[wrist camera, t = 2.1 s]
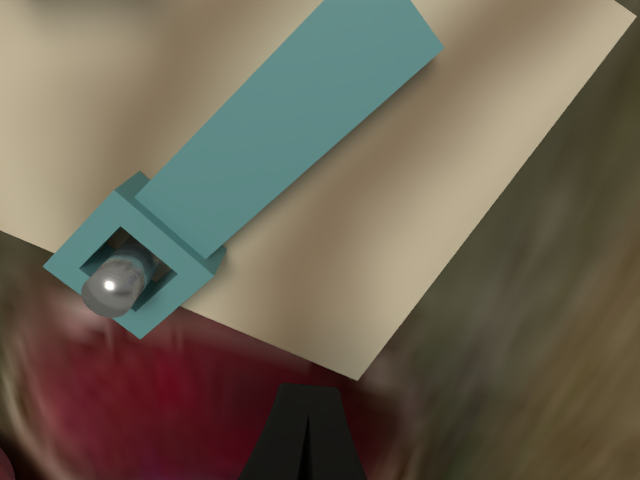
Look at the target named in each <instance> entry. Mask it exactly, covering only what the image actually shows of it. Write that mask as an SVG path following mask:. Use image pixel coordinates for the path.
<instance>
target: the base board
mask: <svg viewBox="0 0 640 480" xmlns="http://www.w3.org/2000/svg"><path fill="white" fill-rule="evenodd" d="M323 1H324V0H0V230H1V231H3V232H6V233H8V234H10V235H13V236H15V237H18V238H20V239H22V240H25V241H27V242H29V243H32V244H34V245H36V246H39V247H41V248H44V249H46V250H48V251H51V252H53V253H56V252H57V251H58V249H59V248H60V247H61V246H62V245H63V244H64V243H65V242H66V241H67V240H68V239H69V238H70V237H71V236H72V234H73V233H74V232H75V231H76V230H77V229H78V228H79V227H80V226H81V225H82V224H83V223H84V222H85V220H86V219H87V218H88V217H89V216H90V215H91V214H92V213H93V212H94V211H95V210H96V209H97V208H98V207H99V205H100V204H101V203H102V202H103V201H104V200H105V199H106V198H107V197H108V196H109V195H110V194H111V193H112V191H113V190H115V189H116V188H117V187H119V186H120V185H121V184H123V183H124V182H125V181H127V180H128V179H129V178H131V177H132V176H133V175H135V174H136V173H137V172H139V171H140V172H141V173H143V174H144V175H145V176H146V177H147V178H148V179H149V180H151V179H152V178H153V177H154V176H155V175H156V174H157V173H158V172H159V171H160V170H161V169H162V168H163V167H164V166H165V165H166V164H167V163H168V161H169V160H170V159H171V158H172V157H173V156H174V155H175V154H176V153H177V152H178V151H179V150H180V149H181V148H182V147H183V146H184V145H185V144H186V143H187V142H188V141H189V140H190V139H191V138H192V137H193V136H194V134H195V133H196V132H197V131H198V130H199V129H200V128H201V127H202V126H203V125H204V124H205V123H206V122H207V121H208V120H209V119H210V118H211V117H212V116H213V115H214V114H215V113H216V112H217V111H218V110H219V109H220V107H221V106H222V105H223V104H224V103H225V102H226V101H227V100H228V99H229V98H230V97H231V96H232V95H233V94H234V93H235V92H236V91H237V90H238V89H239V88H240V87H241V86H242V85H243V84H244V83H245V82H246V80H247V79H248V78H249V77H250V76H251V75H252V74H253V73H254V72H255V71H256V70H257V69H258V68H259V67H260V66H261V65H262V64H263V63H264V62H265V61H266V60H267V59H268V58H269V57H270V56H271V55H272V53H273V52H274V51H275V50H276V49H277V48H278V47H279V46H280V45H281V44H282V43H283V42H284V41H285V40H286V39H287V38H288V37H289V36H290V35H291V34H292V33H293V32H294V31H295V30H296V29H297V28H298V26H299V25H300V24H301V23H302V22H303V21H304V20H305V19H306V18H307V17H308V16H309V15H310V14H311V13H312V12H313V11H314V10H315V9H316V8H317V7H318V6H319V5H320V4H321V3H322V2H323ZM411 2H412V3H413V4H414V6H415V7H416V9H417V10H418V11H419V13H420V14H421V16H422V17H423V18H424V20H425V21H426V23H427V24H428V25H429V27H430V28H431V29H432V31H433V32H434V34H435V35H436V36H437V38H438V39H439V41H440V42H441V43H442V45H443V46H444V49H443V50H442V51H441V52H439V53H438V54H437V55H436V56H435V57H434V58H433V59H431V60H430V61H429V62H428V63H427V64H426V65H425V66H424V67H422V68H421V69H420V70H419V71H418V72H417V73H416V74H415V75H413V76H412V77H411V78H410V79H409V80H408V81H407V82H405V83H404V84H403V85H402V86H401V87H400V88H399V89H398V90H396V91H395V92H394V93H393V94H392V95H391V96H390V97H389V98H387V99H386V100H385V101H384V102H383V103H382V104H381V105H379V106H378V107H377V108H376V109H375V110H374V111H373V112H372V113H370V114H369V115H368V116H367V117H366V118H365V119H364V120H362V121H361V122H360V123H359V124H358V125H357V126H356V127H355V128H353V129H352V130H351V131H350V132H349V133H348V134H347V135H346V136H344V137H343V138H342V139H341V140H340V141H339V142H338V143H336V144H335V145H334V146H333V147H332V148H331V149H330V150H329V151H327V152H326V153H325V154H324V155H323V156H322V157H321V158H320V159H318V160H317V161H316V162H315V163H314V164H313V165H312V166H310V167H309V168H308V169H307V170H306V171H305V172H304V173H303V174H301V175H300V176H299V177H298V178H297V179H296V180H295V181H294V182H292V183H291V184H290V185H289V186H288V187H287V188H286V189H284V190H283V191H282V192H281V193H280V194H279V195H278V196H277V197H275V198H274V199H273V200H272V201H271V202H270V203H269V204H268V205H266V206H265V207H264V208H263V209H262V210H261V211H260V212H258V213H257V214H256V215H255V216H254V217H253V218H252V219H251V220H249V221H248V222H247V223H246V224H245V225H244V226H243V227H241V228H240V229H239V230H238V231H237V232H236V233H235V234H234V235H232V236H231V237H230V238H229V239H228V240H227V241H226V242H225V243H223V244H222V245H223V246H224V247H225V248H226V249H227V250H226V252H225V255H224V257H223V259H222V261H221V263H220V265H219V267H218V269H217V271H216V273H215V276H214V277H213V278H211V279H210V280H209V281H208V282H207V283H206V284H204V285H203V286H202V287H201V288H200V289H199V290H197V291H196V292H195V293H194V294H193V295H192V296H190V297H189V298H188V299H187V300H186V301H185V302H183V303H182V304H181V305H180V306H181V307H184V308H186V309H188V310H191V311H193V312H195V313H198V314H200V315H203V316H205V317H207V318H210V319H212V320H214V321H217V322H219V323H222V324H224V325H226V326H229V327H231V328H233V329H236V330H238V331H241V332H243V333H245V334H248V335H250V336H252V337H255V338H257V339H260V340H262V341H264V342H267V343H269V344H271V345H274V346H276V347H279V348H281V349H283V350H286V351H288V352H290V353H293V354H295V355H297V356H300V357H302V358H305V359H307V360H309V361H312V362H314V363H316V364H319V365H321V366H324V367H326V368H328V369H331V370H333V371H335V372H338V373H340V374H343V375H345V376H347V377H350V378H352V379H354V380H357V381H358V380H359V378H360V377H361V376H362V374H363V373H364V372H365V371H366V369H367V368H368V367H369V365H370V364H371V363H372V361H373V360H374V359H375V357H376V356H377V355H378V354H379V352H380V351H381V350H382V348H383V347H384V346H385V344H386V343H387V342H388V340H389V339H390V338H391V337H392V335H393V334H394V333H395V331H396V330H397V329H398V327H399V326H400V325H401V323H402V322H403V321H404V320H405V318H406V317H407V316H408V314H409V313H410V312H411V310H412V309H413V308H414V307H415V305H416V304H417V303H418V301H419V300H420V299H421V297H422V296H423V295H424V293H425V292H426V291H427V290H428V288H429V287H430V286H431V284H432V283H433V282H434V280H435V279H436V278H437V276H438V275H439V274H440V273H441V271H442V270H443V269H444V267H445V266H446V265H447V263H448V262H449V261H450V259H451V258H452V257H453V256H454V254H455V253H456V252H457V250H458V249H459V248H460V246H461V245H462V244H463V243H464V241H465V240H466V239H467V237H468V236H469V235H470V233H471V232H472V231H473V229H474V228H475V227H476V226H477V224H478V223H479V222H480V220H481V219H482V218H483V216H484V215H485V214H486V212H487V211H488V210H489V209H490V207H491V206H492V205H493V203H494V202H495V201H496V199H497V198H498V197H499V195H500V194H501V193H502V192H503V190H504V189H505V188H506V186H507V185H508V184H509V182H510V181H511V180H512V179H513V177H514V176H515V175H516V173H517V172H518V171H519V169H520V168H521V167H522V165H523V164H524V163H525V162H526V160H527V159H528V158H529V156H530V155H531V154H532V152H533V151H534V150H535V148H536V147H537V146H538V145H539V143H540V142H541V141H542V139H543V138H544V137H545V135H546V134H547V133H548V132H549V130H550V129H551V128H552V126H553V125H554V124H555V122H556V121H557V120H558V118H559V117H560V116H561V115H562V113H563V112H564V111H565V109H566V108H567V107H568V105H569V104H570V103H571V101H572V100H573V99H574V98H575V96H576V95H577V94H578V92H579V91H580V90H581V88H582V87H583V86H584V84H585V83H586V82H587V81H588V79H589V78H590V77H591V75H592V74H593V73H594V71H595V70H596V69H597V68H598V66H599V65H600V64H601V62H602V61H603V60H604V58H605V57H606V56H607V54H608V53H609V52H610V51H611V49H612V48H613V47H614V45H615V44H616V43H617V41H618V40H619V39H620V37H621V36H622V35H623V34H624V32H625V31H626V30H627V28H628V27H629V26H630V24H631V23H632V22H633V20H634V19H635V18H636V17H637V16H636V15H634V14H633V13H631V12H630V11H629V10H627V9H626V8H624V7H623V6H621V5H620V4H619V3H617V2H616V1H614V0H411ZM130 235H131V234H129V233H128V232H127V231H126V230H125V229H123V228H122V227H121V228H120V229H119V230H118V231H117V232H116V233H115V234H114V235H113V236H112V237H111V238H110V239H109V240H108V241H107V242H106V243H107V244H108V245H110V246H111V247H112V248H113V249H115V250H117V249H118V248H119V247H120V246H121V245H122V244H123V243H124V241H125V240H126V239H127V238H128V237H129V236H130ZM170 269H171V268H170V267H169V266H168V265H167V264H165V263H164V262H163V264H162V265H161V266H160V268H159V269H158V270H157V272H156V273H155V275H154V276H153V277H152V280H153V281H154V282H155V283H156V282H157V281H158V280H159V279H161V278H162V277H163V276H164V275H165V274H166V273H167V272H168V271H169V270H170Z"/></svg>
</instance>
